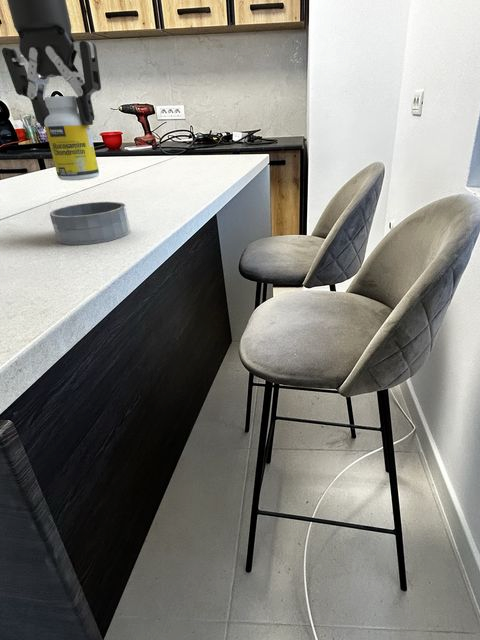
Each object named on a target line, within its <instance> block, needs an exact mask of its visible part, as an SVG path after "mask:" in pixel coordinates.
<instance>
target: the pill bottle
mask: <svg viewBox="0 0 480 640" xmlns="http://www.w3.org/2000/svg"><path fill="white" fill-rule="evenodd" d="M76 97H78V95H77V96H76V95H63V96H61V95H60V96H44V100H45V103H46V106H47V108H48V109H49V113H50V114H49V116H47V117H46V118H45V121H44V124H45V127H44V129H45V133H46V137H47V140H48V144H49V148H50V151H51V155H52V156H51V157H52V159H53V164H54V167H55V171H56V174H57V175H56V176H57V177H58V179H59V180H61V181H68V182H69V181H70V182H71V181H72V182H73V181H74V182H75V181H85V180H91V179H95V178H97V177H99V175H100V171H99V165H98V161H97V156H96V150H95V147H94V141H93V136H92V132H91V127H90V125H82V123H81V119H80V115H79V110H78V106H77V101H76Z"/></svg>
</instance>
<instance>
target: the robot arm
mask: <svg viewBox="0 0 480 640" xmlns="http://www.w3.org/2000/svg"><path fill="white" fill-rule="evenodd" d="M6 1H7V5H8V9H9V12H10V16H11V19H12V24H13V27H14V29H15V31H16V33H17V34H18V37H19V43H18V44H19V45H18V46H17V47H13V48H12V47H11V48H9V47H2V49H1V53H2V56H3V59H4V62H5V65H6V67H7V70H8V71H7V72H8V74H9V76H10V79H11V82H12V85H13V88H14V90H15V93H16V94H17V95H18V96H24V97H26V98H28V99H29V100H30V102H31V106H32V110H33V113H34V117H35V121H36V122H37V123H38V124H39V125H40V127H41V128H45V124H44V121H45V118H46V117H47V116H49V114H50V112H49V108H47V106H46V103H45V99H44V98H45V97H46V89H47V86H48V85H49V82H50V78H56V77H62V78H63V79H64V80H65V81H66V83H68V84H69V85H70V87H71V88H72V90H73V92H74V94H76V95H77V97H76V101H77V106H78V112H79V115H80V119H81V123H82V125H89V126H92V125H93V124H94V121H95V113H94V108H93V103H92V95H93V94H94V93H96V92H100V91H101V89H102V82H101V75H100V66H99V59H98V53H97V51H98V50H97V46H96V44H95V43H94V42H91V41H88V40H81V41H76V40H75V39H74V37H73V34H72V24H71V19H70V14H69V10H68V4H67V0H6ZM77 56H78V58H79V59H80V60H81V67H82V72H81V70H80V69H79V67H78V65H77V64H76V63H75V60H76V58H77ZM26 62H28V68H27V69H26V67H25V66H26V65H25V63H26Z"/></svg>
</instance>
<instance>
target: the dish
mask: <svg viewBox="0 0 480 640" xmlns="http://www.w3.org/2000/svg"><path fill="white" fill-rule="evenodd" d="M49 217H50V221H51V223H52V227H53V231H54V235H55V238H56V241H57V242H58V243H59V244H62V245H70V246H82V245H83V246H85V245H93V244H94V245H96V244H100V243H105V242H111V241H114V240H118V239H120V238H121V239H122V238H123V237H125V236H128V235H129V234H130V232H131V229H130V228H131V226H130V222H129V216H128V212H127V206H126V204H125V203H123V202H119V201H95V202H86V203H77V204H73V205H67V206H62V207H59V208H56V209H53V210H52V211H50V212H49Z"/></svg>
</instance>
